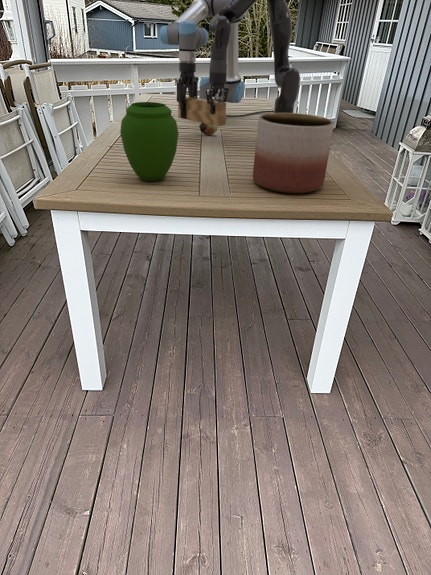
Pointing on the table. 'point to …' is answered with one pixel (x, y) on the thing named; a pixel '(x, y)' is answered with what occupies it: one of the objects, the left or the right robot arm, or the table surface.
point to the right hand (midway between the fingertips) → (216, 113)
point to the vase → (149, 139)
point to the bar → (203, 111)
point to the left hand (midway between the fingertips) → (187, 117)
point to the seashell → (208, 128)
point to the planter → (292, 152)
